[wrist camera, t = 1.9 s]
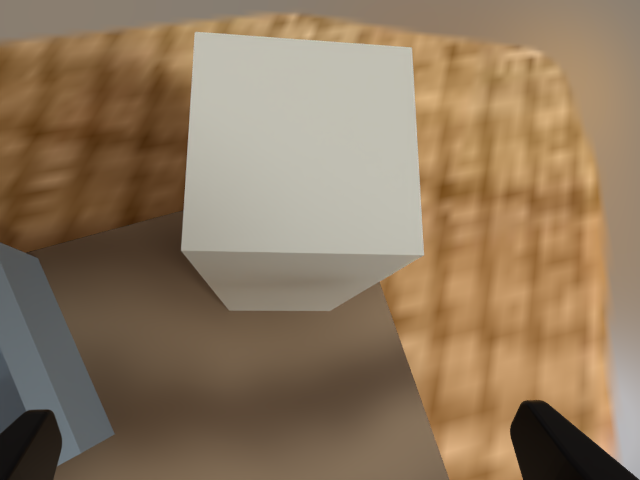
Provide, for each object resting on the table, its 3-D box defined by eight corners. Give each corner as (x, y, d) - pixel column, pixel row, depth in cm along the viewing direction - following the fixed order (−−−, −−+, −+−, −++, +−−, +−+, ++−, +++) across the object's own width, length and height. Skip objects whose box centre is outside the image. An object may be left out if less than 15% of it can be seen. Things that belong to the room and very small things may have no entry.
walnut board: (463, 534, 20) (471, 541, 19) (-107, 788, 16) (-126, 810, 15) (336, 174, 23) (339, 168, 22) (-168, 311, 19) (-186, 309, 18)
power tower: (329, 311, 21) (424, 255, 9) (229, 310, 20) (180, 250, 8) (329, 211, 22) (411, 38, 10) (233, 208, 21) (195, 23, 9)
